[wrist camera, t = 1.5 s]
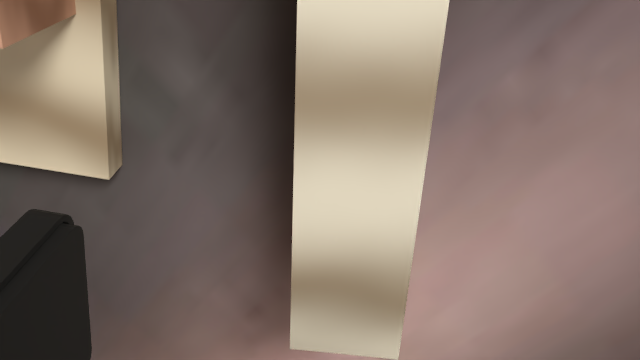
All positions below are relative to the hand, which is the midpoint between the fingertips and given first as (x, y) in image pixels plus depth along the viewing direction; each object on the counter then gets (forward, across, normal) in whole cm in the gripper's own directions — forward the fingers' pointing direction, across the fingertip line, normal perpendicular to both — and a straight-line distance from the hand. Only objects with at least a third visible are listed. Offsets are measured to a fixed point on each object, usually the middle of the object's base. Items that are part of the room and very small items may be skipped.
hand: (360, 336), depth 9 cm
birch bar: (+17, 0, 0) cm, 17 cm away
